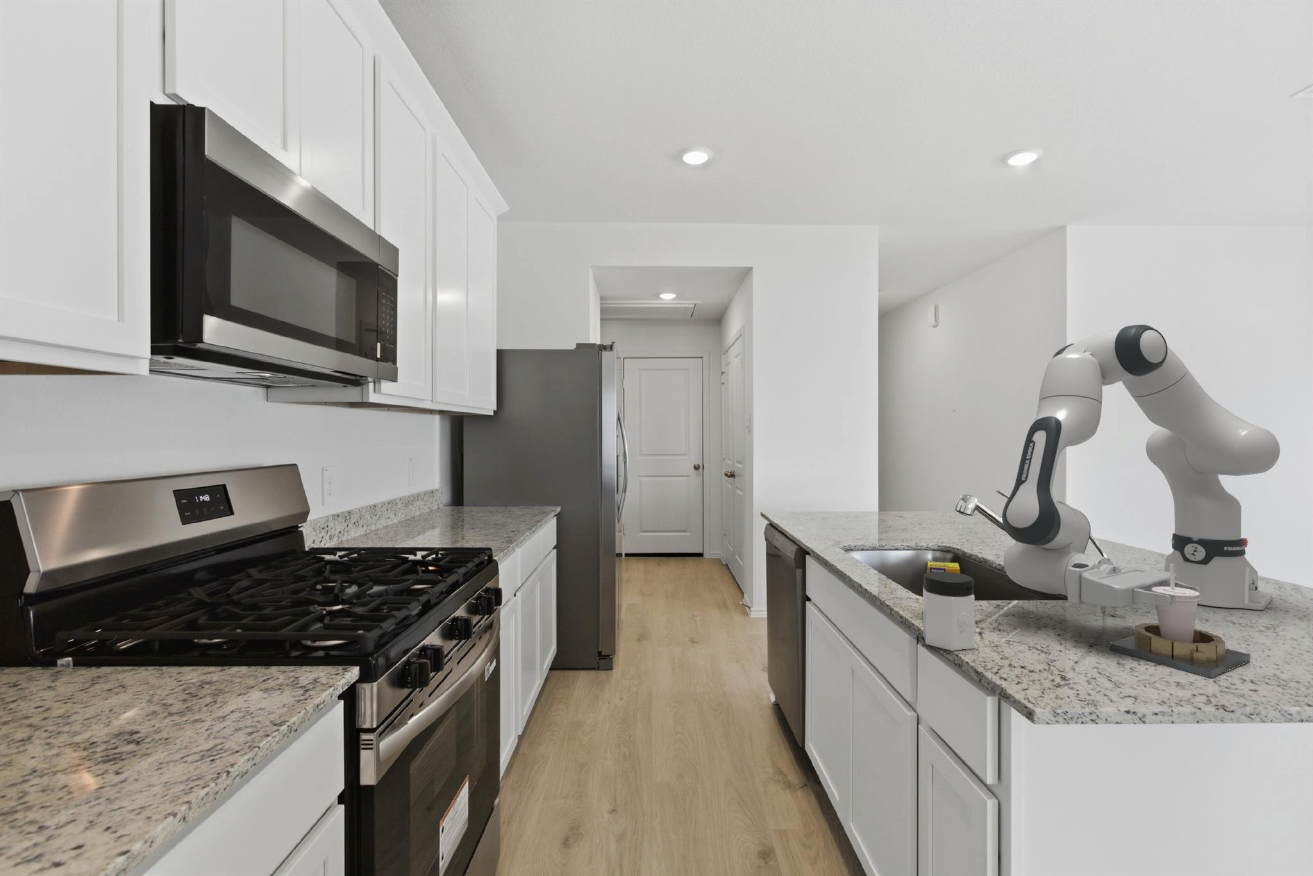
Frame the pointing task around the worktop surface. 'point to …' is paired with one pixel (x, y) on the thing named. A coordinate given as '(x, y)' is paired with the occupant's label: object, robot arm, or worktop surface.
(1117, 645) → the socket
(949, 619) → the jar
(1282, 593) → the worktop surface
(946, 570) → the supplement box
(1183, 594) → the smoothie
